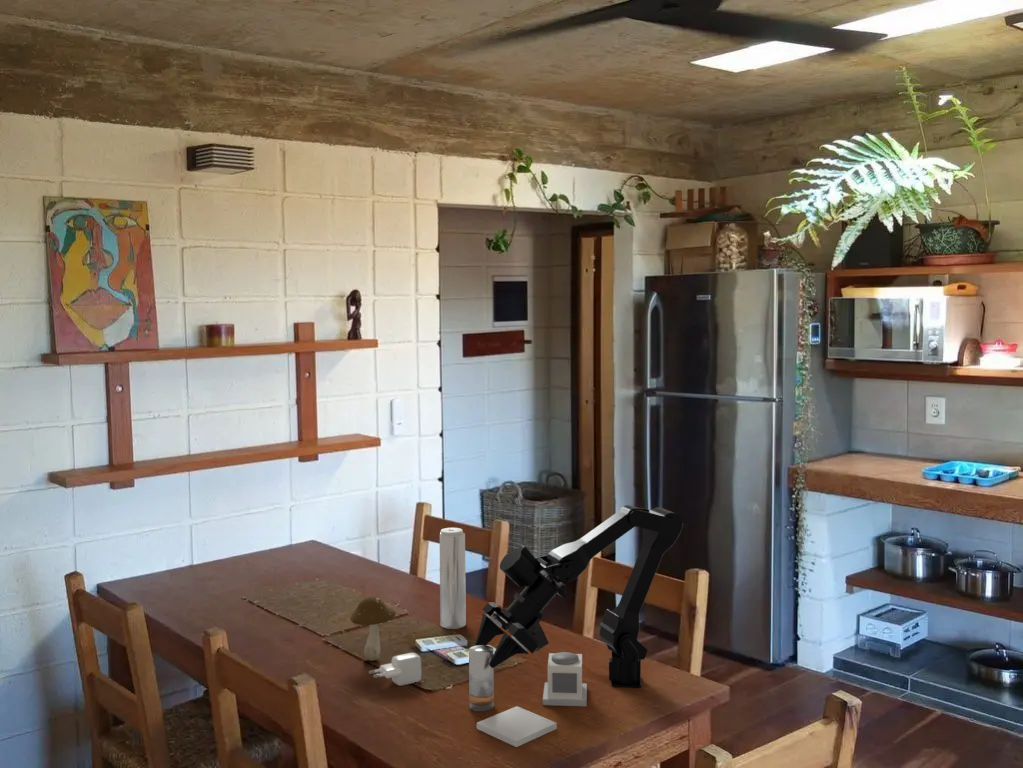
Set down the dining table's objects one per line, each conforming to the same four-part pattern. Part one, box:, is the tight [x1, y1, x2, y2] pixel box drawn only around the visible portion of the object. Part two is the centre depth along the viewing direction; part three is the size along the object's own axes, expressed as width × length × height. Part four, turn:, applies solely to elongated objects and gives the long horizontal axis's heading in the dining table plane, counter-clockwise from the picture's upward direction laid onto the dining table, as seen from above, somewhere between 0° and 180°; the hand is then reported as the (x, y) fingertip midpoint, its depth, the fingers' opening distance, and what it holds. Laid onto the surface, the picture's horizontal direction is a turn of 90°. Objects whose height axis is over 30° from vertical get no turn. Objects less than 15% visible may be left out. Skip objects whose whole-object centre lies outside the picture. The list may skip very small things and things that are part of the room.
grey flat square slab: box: [476, 705, 558, 748], centre depth 189 cm, size 11×11×1 cm
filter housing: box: [542, 651, 588, 707], centre depth 204 cm, size 9×9×9 cm
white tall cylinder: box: [439, 527, 467, 630], centre depth 248 cm, size 6×6×25 cm
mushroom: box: [349, 595, 397, 662], centre depth 225 cm, size 9×11×15 cm
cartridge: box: [468, 645, 495, 712], centre depth 199 cm, size 5×5×12 cm
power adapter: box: [368, 652, 422, 686], centre depth 211 cm, size 11×5×6 cm, turn 120°
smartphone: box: [434, 645, 468, 660], centre depth 229 cm, size 1×7×15 cm
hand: (482, 658), depth 199 cm, fingers open, 9 cm apart
